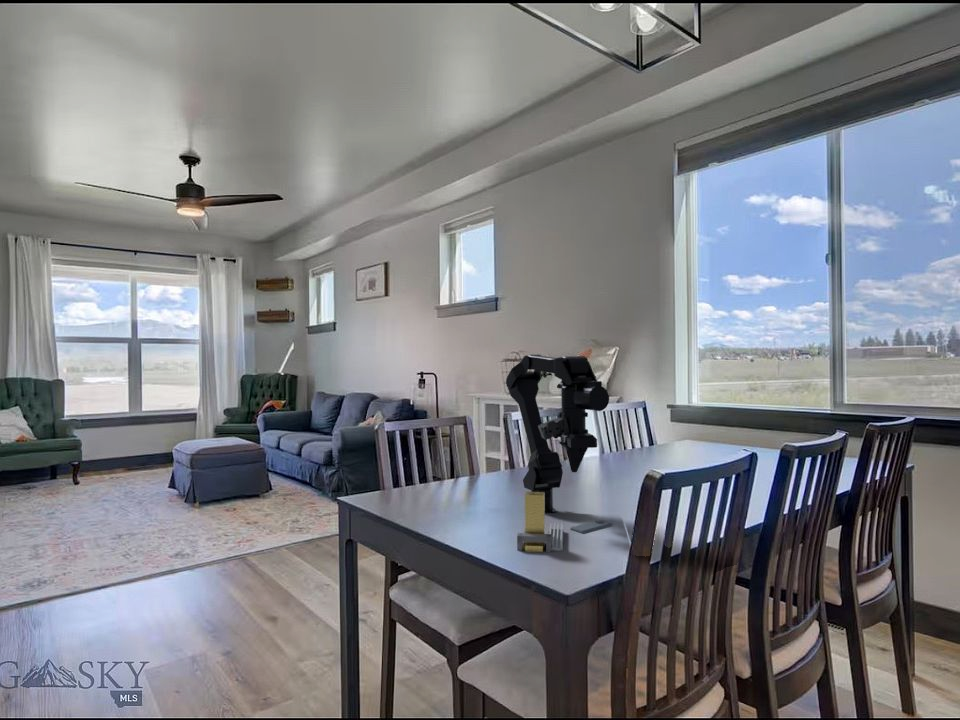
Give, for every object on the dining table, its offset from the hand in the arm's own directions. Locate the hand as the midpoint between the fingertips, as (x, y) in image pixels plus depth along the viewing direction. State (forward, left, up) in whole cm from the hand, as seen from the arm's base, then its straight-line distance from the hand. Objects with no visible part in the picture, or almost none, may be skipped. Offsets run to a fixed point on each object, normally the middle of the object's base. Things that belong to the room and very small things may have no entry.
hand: (574, 472), depth 142 cm
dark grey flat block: (+5, +3, -14) cm, 15 cm away
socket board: (+13, -12, -13) cm, 22 cm away
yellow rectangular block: (+17, -13, -12) cm, 25 cm away
